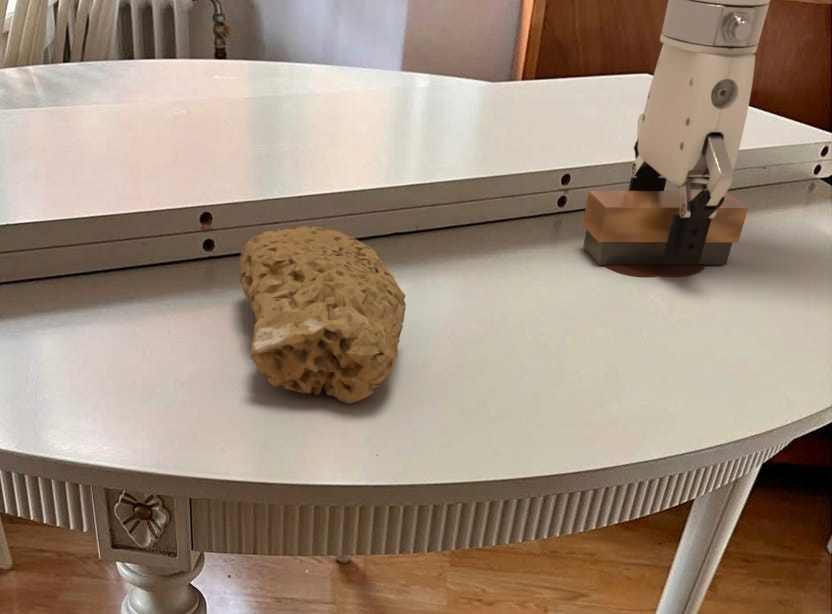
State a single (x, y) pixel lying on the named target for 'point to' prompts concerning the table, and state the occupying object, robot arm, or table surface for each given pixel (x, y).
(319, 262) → the sponge
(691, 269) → the coffee spill
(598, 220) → the brush
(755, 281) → the table surface
